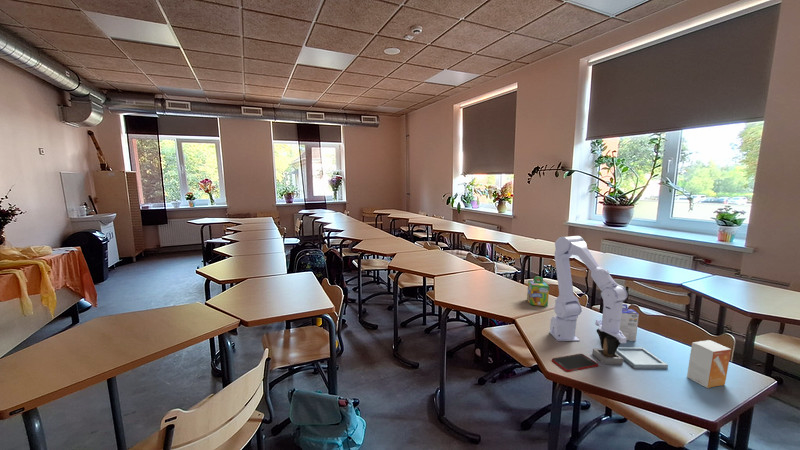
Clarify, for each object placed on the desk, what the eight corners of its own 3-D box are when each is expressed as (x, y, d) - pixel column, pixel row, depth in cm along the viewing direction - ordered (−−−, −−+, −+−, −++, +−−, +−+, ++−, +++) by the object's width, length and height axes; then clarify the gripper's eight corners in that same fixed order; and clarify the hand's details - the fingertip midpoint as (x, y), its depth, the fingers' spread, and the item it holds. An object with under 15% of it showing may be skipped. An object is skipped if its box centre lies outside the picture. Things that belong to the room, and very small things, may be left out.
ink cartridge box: (630, 335, 138) (633, 304, 136) (636, 341, 132) (640, 309, 130) (605, 333, 140) (608, 302, 138) (610, 339, 134) (614, 307, 132)
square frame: (603, 363, 116) (604, 358, 115) (592, 353, 123) (592, 348, 122) (622, 364, 116) (623, 358, 115) (610, 353, 123) (610, 348, 122)
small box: (707, 388, 102) (713, 351, 100) (686, 377, 108) (691, 341, 107) (725, 385, 104) (732, 348, 102) (703, 374, 110) (709, 339, 108)
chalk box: (530, 305, 170) (532, 279, 168) (526, 299, 179) (528, 274, 177) (548, 306, 168) (550, 280, 166) (543, 300, 177) (545, 275, 175)
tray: (634, 368, 113) (634, 364, 113) (612, 350, 125) (612, 346, 125) (667, 368, 113) (668, 364, 113) (642, 350, 125) (642, 347, 125)
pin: (605, 361, 118) (607, 341, 116) (600, 356, 121) (602, 337, 120) (614, 361, 118) (616, 341, 116) (608, 356, 121) (610, 337, 120)
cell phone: (599, 366, 115) (599, 364, 114) (566, 373, 111) (566, 370, 110) (581, 355, 122) (582, 353, 122) (550, 361, 118) (550, 358, 118)
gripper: (589, 309, 124) (586, 341, 126) (613, 326, 110) (609, 362, 112) (607, 309, 124) (603, 341, 126) (634, 326, 110) (629, 362, 112)
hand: (607, 351), depth 119 cm, fingers closed on pin, 3 cm apart
